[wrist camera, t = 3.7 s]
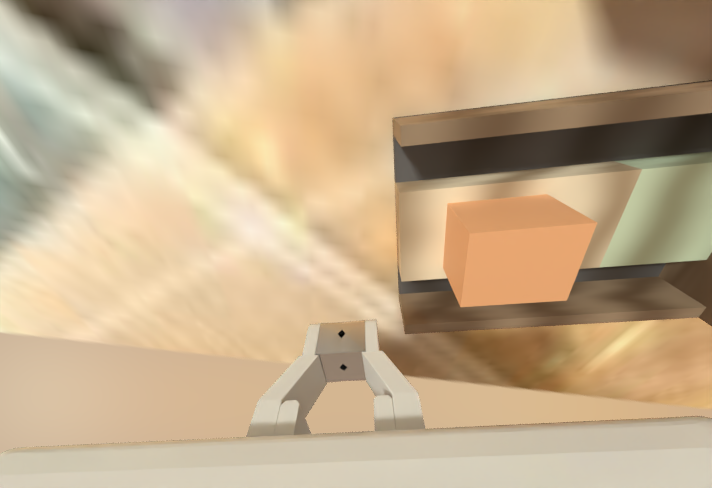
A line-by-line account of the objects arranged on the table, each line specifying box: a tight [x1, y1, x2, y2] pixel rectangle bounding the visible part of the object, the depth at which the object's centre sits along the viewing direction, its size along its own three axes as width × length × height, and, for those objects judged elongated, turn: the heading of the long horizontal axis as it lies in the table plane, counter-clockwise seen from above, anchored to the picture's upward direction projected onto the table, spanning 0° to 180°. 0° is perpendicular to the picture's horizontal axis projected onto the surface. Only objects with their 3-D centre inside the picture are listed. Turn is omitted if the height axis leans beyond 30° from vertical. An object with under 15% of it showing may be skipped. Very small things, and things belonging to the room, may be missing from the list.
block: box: [443, 194, 597, 307], centre depth 16 cm, size 6×5×4 cm
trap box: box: [393, 80, 712, 334], centre depth 17 cm, size 22×15×5 cm
